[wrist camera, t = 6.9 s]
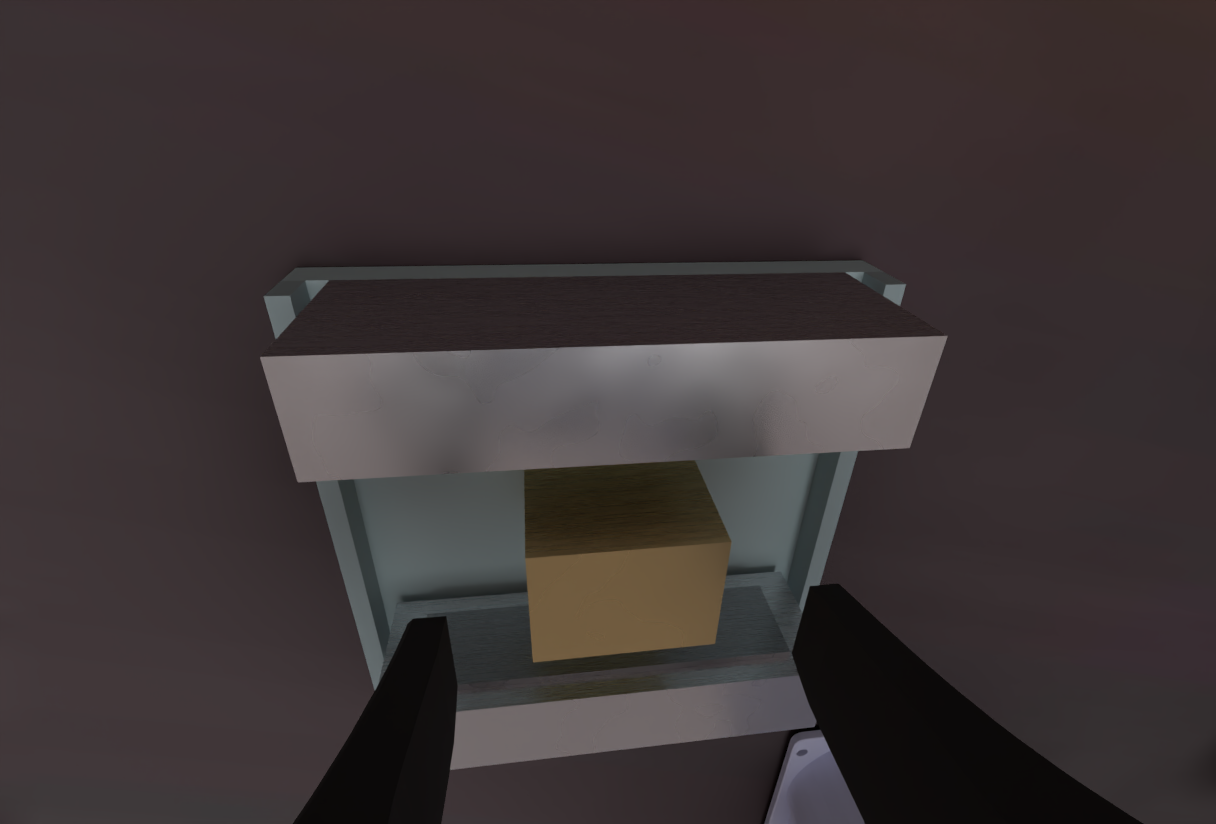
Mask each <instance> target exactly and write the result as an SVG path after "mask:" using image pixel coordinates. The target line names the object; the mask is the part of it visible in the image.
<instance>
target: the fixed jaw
mask: <svg viewBox="0 0 1216 824" xmlns="http://www.w3.org/2000/svg"><path fill="white" fill-rule="evenodd" d="M946 339H947V335H945V334H944V333H942V332H941V331H939V330H937V329H936V328H934V327H932V326H931V325H929V324H928V323H926V322H924V321H923V320H921V319H920V318H918V317H916V316H915V315H913V314H912V313H910V312H908V311H907V310H905V309H903V308H902V307H900V306H899V305H897V304H895V303H894V302H892V301H891V300H889V299H887V298H886V297H884V296H882V295H881V294H879V293H878V292H876V291H874V290H873V289H871V288H870V287H868V286H866V285H865V284H863V283H862V282H860V281H858V280H857V279H855V278H853V277H852V276H850V275H849V274H847V273H845V272H829V273H764V274H699V275H635V276H570V277H505V278H440V279H375V280H329V281H328V282H327V283H326V285H325V286H324V287H323V288H322V289H321V290H320V291H319V292H318V293H317V295H316V296H315V297H314V298H313V299H312V300H311V301H310V302H309V303H308V304H307V306H306V307H305V308H304V309H303V310H302V311H301V312H300V313H299V314H298V316H297V317H296V318H295V319H294V320H293V321H292V322H291V323H290V324H289V325H288V327H287V328H286V329H285V330H284V331H283V332H282V333H281V334H280V335H279V337H278V338H277V339H276V340H275V341H274V342H273V343H272V344H271V345H270V346H269V348H268V349H267V350H266V351H265V352H264V353H263V354H262V355H261V356H260V359H261V362H262V365H263V369H264V372H265V375H266V379H267V382H268V385H269V388H270V392H271V395H272V398H273V402H274V405H275V408H276V412H277V415H278V418H279V422H280V425H281V428H282V432H283V435H284V438H285V442H286V445H287V448H288V451H289V455H290V458H291V461H292V465H293V468H294V471H295V475H296V478H297V481H298V482H313V481H330V480H348V479H366V478H384V477H402V476H419V475H437V474H455V473H473V472H491V471H509V470H526V469H544V468H562V467H580V466H598V465H615V464H633V463H651V462H669V461H687V460H705V459H722V458H740V457H758V456H776V455H794V454H811V453H829V452H847V451H865V450H883V449H900V448H910V445H911V442H912V439H913V436H914V433H915V430H916V428H917V425H918V422H919V419H920V416H921V413H922V410H923V407H924V404H925V401H926V398H927V395H928V392H929V389H930V386H931V383H932V381H933V378H934V375H935V372H936V369H937V366H938V363H939V360H940V357H941V354H942V351H943V348H944V345H945V342H946Z"/></svg>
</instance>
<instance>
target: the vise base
mask: <svg viewBox="0 0 1216 824" xmlns="http://www.w3.org/2000/svg"><path fill="white" fill-rule="evenodd" d="M829 272H845V273H847V274H849V275H850V276H852V277H853V278H855V279H857V280H858V281H860V282H862V283H863V284H865V285H866V286H868V287H870V288H871V289H873V290H874V291H876V292H878V293H879V294H881V295H882V296H884V297H886V298H887V299H889V300H891V301H892V302H894V303H895V304H897V305H899V306H900V304H901V300H902V297H903V293H904V290H905V286H906V284H905V283H903V282H901V281H899V280H897V279H895V278H894V277H892V276H890V275H888V274H886V273H885V272H883V271H881V270H879V269H877V268H876V267H874V266H872V265H870V264H868V263H867V262H865V261H863V260H853V261H775V262H697V263H618V264H540V265H462V266H384V267H306V268H295V269H294V270H293V271H292V272H291V273H289V274H288V275H287V276H286V277H285V278H284V279H283V280H282V281H280V282H279V283H278V284H277V285H276V286H275V287H274V288H272V289H271V290H270V291H269V292H268V293H267V294H266V295H265V296H264V299H265V303H266V306H267V310H268V313H269V317H270V320H271V324H272V327H273V331H274V335H275V338H276V339H277V338H278V337H279V335H280V334H281V333H282V332H283V331H284V330H285V329H286V328H287V327H288V325H289V324H290V323H291V322H292V321H293V320H294V319H295V318H296V317H297V316H298V314H299V313H300V312H301V311H302V310H303V309H304V308H305V307H306V306H307V304H308V303H309V302H310V301H311V300H312V299H313V298H314V297H315V296H316V295H317V293H318V292H319V291H320V290H321V289H322V288H323V287H324V286H325V285H326V283H327V282H328V281H329V280H375V279H440V278H505V277H570V276H635V275H699V274H764V273H829ZM857 453H858V451H847V452H829V453H811V454H794V455H776V456H758V457H740V458H722V459H705V460H695V462H696V464H697V466H698V468H699V470H700V473H701V475H702V477H703V479H704V482H705V484H706V486H707V488H708V490H709V493H710V495H711V497H712V499H713V502H714V504H715V506H716V508H717V510H718V513H719V515H720V517H721V519H722V522H723V524H724V526H725V528H726V530H727V533H728V535H729V537H730V539H731V541H732V543H731V549H730V555H729V561H728V567H727V574H726V576H729V575H741V574H754V573H766V572H778V571H781V573H782V575H783V577H784V579H785V580H786V582H787V584H788V586H789V588H790V590H791V592H792V594H793V596H794V598H795V600H796V602H797V603H798V605H799V607H800V609H801V611H802V613H803V609H804V606H805V602H806V598H807V595H808V591H809V587H810V586H817V585H820V581H821V578H822V574H823V571H824V567H825V564H826V560H827V557H828V554H829V550H830V547H831V543H832V540H833V536H834V533H835V529H836V526H837V522H838V519H839V515H840V512H841V508H842V505H843V502H844V498H845V495H846V491H847V488H848V484H849V481H850V477H851V474H852V470H853V467H854V463H855V460H856V456H857ZM316 484H317V487H318V491H319V494H320V498H321V501H322V505H323V508H324V512H325V515H326V519H327V523H328V526H329V530H330V533H331V537H332V540H333V544H334V547H335V551H336V554H337V558H338V562H339V565H340V569H341V572H342V576H343V579H344V583H345V586H346V590H347V594H348V597H349V601H350V604H351V608H352V611H353V615H354V618H355V622H356V625H357V629H358V633H359V636H360V640H361V643H362V647H363V650H364V654H365V657H366V661H367V664H368V668H369V672H370V675H371V679H372V682H373V686H374V689H375V690H376V688H377V686H378V683H379V679H380V674H381V670H382V666H383V661H384V657H385V653H386V648H387V644H388V640H389V635H390V631H391V626H392V622H393V618H394V613H395V609H396V605H397V603H400V602H412V601H425V600H437V599H449V598H461V597H473V596H485V595H498V594H510V593H522V592H528V589H527V576H526V562H525V497H524V470H509V471H491V472H473V473H455V474H437V475H419V476H402V477H384V478H366V479H348V480H330V481H316Z"/></svg>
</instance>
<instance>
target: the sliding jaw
mask: <svg viewBox="0 0 1216 824" xmlns="http://www.w3.org/2000/svg"><path fill="white" fill-rule="evenodd" d="M440 616H446V617H447V623H448V630H449V636H450V642H451V648H452V654H453V660H454V666H455V672H456V678H457V684H458V689H457V706H456V722H455V737H454V746H453V753H452V759H451V766H450V770H453V769H462V768H470V767H479V766H487V765H496V764H504V763H513V762H521V761H530V760H538V759H547V758H555V757H564V756H572V755H581V754H589V753H598V752H606V751H615V750H623V749H632V748H640V747H649V746H657V745H666V744H674V743H683V742H691V741H700V740H708V739H717V738H725V737H734V736H742V735H751V734H759V733H767V732H776V731H784V730H793V729H801V728H810V727H815V724H816V719H815V717H814V714H813V712H812V710H811V708H810V706H809V703H808V700H807V698H806V695H805V692H804V689H803V686H802V683H801V681H800V678H799V674H798V671H797V668H796V665H795V662H794V659H793V656H792V650H793V646H794V643H795V639H796V635H797V632H798V628H799V624H800V620H801V617H802V611H801V609H800V607H799V605H798V603H797V602H796V600H795V598H794V596H793V594H792V592H791V590H790V588H789V586H788V584H787V582H786V580H785V579H784V577H783V575H782V573H781V571H778V572H766V573H754V574H741V575H729V576H726V580H725V586H724V592H723V598H722V604H721V610H720V616H719V622H718V628H717V634H716V640H715V644H709V645H699V646H690V647H680V648H670V649H660V650H650V651H641V652H631V653H621V654H611V655H601V656H591V657H582V658H572V659H562V660H552V661H542V662H533V657H532V644H531V630H530V616H529V603H528V592H522V593H510V594H498V595H485V596H473V597H461V598H449V599H437V600H425V601H412V602H400V603H397V605H396V609H395V613H394V618H393V622H392V626H391V631H390V635H389V640H388V644H387V648H386V653H385V657H384V661H383V666H382V670H381V674H380V679H379V682H380V680H381V678H382V676H383V675H384V673H385V671H386V669H387V667H388V665H389V663H390V661H391V659H392V657H393V655H394V653H395V651H396V648H397V646H398V644H399V642H400V640H401V638H402V635H403V633H404V631H405V629H406V626H407V624H408V623H409V622H410V621H411V620H412V619H416V618H428V617H440ZM378 684H379V683H378Z"/></svg>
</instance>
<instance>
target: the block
mask: <svg viewBox="0 0 1216 824" xmlns="http://www.w3.org/2000/svg"><path fill="white" fill-rule="evenodd" d="M524 497H525V562H526V576H527V589H528V603H529V616H530V630H531V644H532V657H533V662H542V661H552V660H562V659H572V658H582V657H591V656H601V655H611V654H621V653H631V652H641V651H650V650H660V649H670V648H680V647H690V646H699V645H709V644H715V640H716V634H717V628H718V622H719V616H720V610H721V604H722V598H723V592H724V586H725V580H726V574H727V567H728V561H729V555H730V549H731V543H732V541H731V539H730V537H729V535H728V533H727V530H726V528H725V526H724V524H723V522H722V519H721V517H720V515H719V513H718V510H717V508H716V506H715V504H714V502H713V499H712V497H711V495H710V493H709V490H708V488H707V486H706V484H705V482H704V479H703V477H702V475H701V473H700V470H699V468H698V466H697V464H696V462H695V460H687V461H669V462H651V463H633V464H615V465H598V466H580V467H562V468H544V469H526V470H524Z"/></svg>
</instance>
